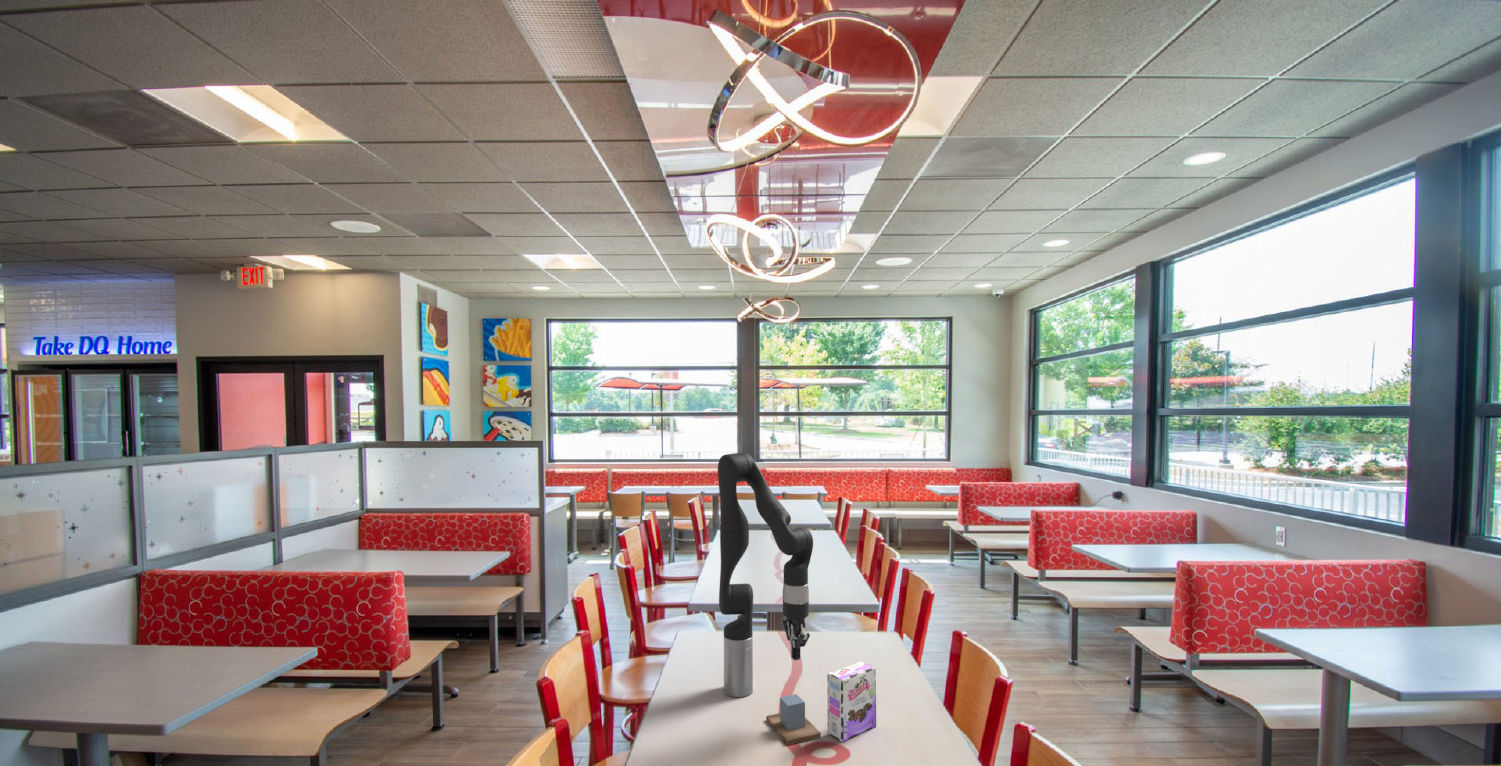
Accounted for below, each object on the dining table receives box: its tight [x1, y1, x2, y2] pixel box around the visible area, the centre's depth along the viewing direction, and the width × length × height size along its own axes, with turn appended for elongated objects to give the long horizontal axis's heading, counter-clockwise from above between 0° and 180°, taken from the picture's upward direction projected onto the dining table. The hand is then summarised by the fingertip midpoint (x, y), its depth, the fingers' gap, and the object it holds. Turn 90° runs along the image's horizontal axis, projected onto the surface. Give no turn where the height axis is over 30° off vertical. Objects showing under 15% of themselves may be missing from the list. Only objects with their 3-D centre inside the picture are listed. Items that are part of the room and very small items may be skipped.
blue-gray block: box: [779, 693, 806, 731], centre depth 166 cm, size 5×5×7 cm
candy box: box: [827, 661, 877, 743], centre depth 165 cm, size 14×6×16 cm, turn 126°
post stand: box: [765, 712, 822, 746], centre depth 166 cm, size 14×10×7 cm
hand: (795, 658), depth 171 cm, fingers closed
